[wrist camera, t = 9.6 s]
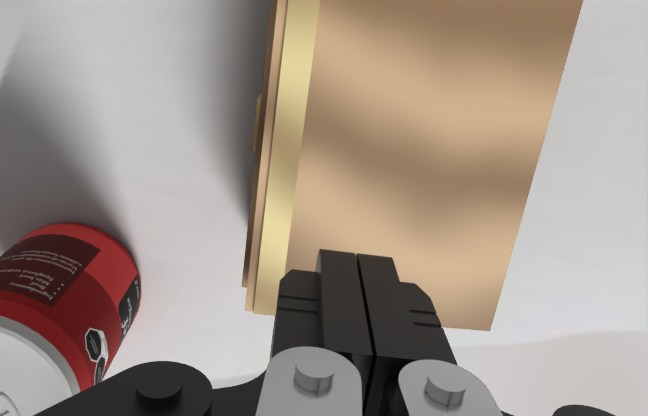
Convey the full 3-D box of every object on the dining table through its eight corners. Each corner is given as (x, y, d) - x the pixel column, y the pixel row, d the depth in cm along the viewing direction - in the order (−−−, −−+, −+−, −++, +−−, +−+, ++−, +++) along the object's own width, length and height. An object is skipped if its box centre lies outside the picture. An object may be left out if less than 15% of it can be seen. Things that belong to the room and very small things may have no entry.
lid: (286, -81, 21) (286, -85, 20) (581, -32, 23) (594, -33, 22) (245, 301, 27) (244, 313, 26) (484, 322, 28) (491, 333, 27)
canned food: (87, 356, 36) (-2, 500, 25) (-14, 270, 33) (-158, 391, 23) (173, 286, 34) (115, 410, 24) (73, 192, 32) (-39, 283, 22)
